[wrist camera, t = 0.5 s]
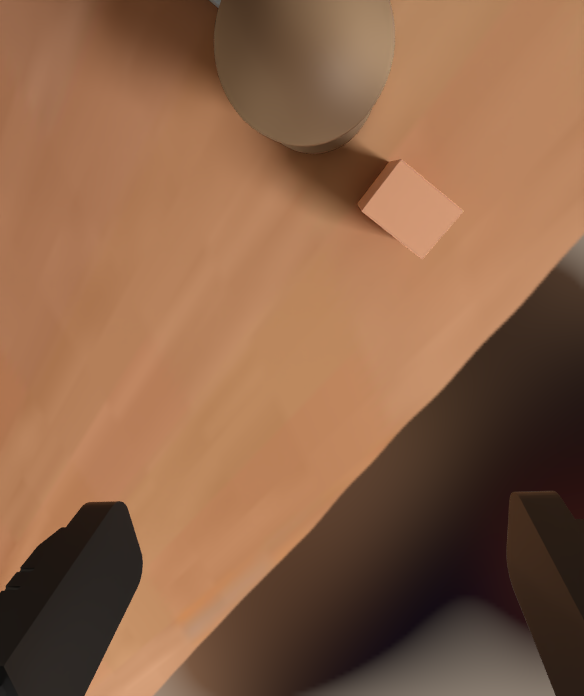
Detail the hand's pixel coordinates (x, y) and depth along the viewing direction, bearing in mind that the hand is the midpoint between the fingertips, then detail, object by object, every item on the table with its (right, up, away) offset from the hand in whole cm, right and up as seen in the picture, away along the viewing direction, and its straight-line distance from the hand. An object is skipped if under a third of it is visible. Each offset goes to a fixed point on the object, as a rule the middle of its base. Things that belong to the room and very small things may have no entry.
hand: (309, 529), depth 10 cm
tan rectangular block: (+6, +13, +19) cm, 24 cm away
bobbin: (+1, +19, +17) cm, 25 cm away
